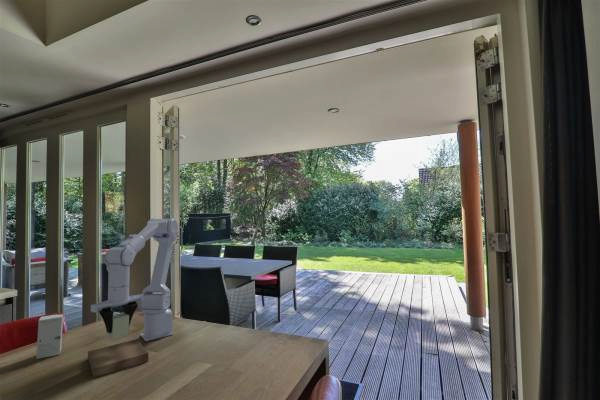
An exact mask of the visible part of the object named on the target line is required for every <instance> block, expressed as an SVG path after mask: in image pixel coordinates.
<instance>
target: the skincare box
mask: <svg viewBox="0 0 600 400" xmlns="http://www.w3.org/2000/svg"><path fill="white" fill-rule="evenodd" d="M63 323H64V314H63V313H60V314H51V315H44V316H43V315H42V316H40V318H39V320H38V323H37V324H38V327H37V341H36V343H37V344H36V357H35V358H36V360H39V359H43V358H49V357H54V356H58V355H61V351H62V344H63V326H64V324H63Z"/></svg>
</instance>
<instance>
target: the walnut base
mask: <svg viewBox="0 0 600 400" xmlns="http://www.w3.org/2000/svg"><path fill="white" fill-rule="evenodd" d="M87 362H88V364H89V367H90V371H91V375H92V378H97V377H101V376H103V375H104V376H105V375H107V374H110V373H113V372H117V371H120V370H124V369H127V368H130V367H134V366H136V365H140V364H143V363H147V362H149V352H148V350H147V349H146V348H145V346H144V345H143V344H142V342H141V341H140V340H139V339H138V338H136V339H133V340H128V341H124V342H121V343H117V344H111V345H108V346H105V347H101V348H97V349H93V350H89V351H87Z"/></svg>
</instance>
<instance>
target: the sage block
mask: <svg viewBox="0 0 600 400" xmlns="http://www.w3.org/2000/svg"><path fill="white" fill-rule="evenodd" d="M128 335H130V327H129V315H128V314H125V313H124V312H120V313H115V314H113V318H112V333H108V332H107V331H106V337H108V338H110V339H112V340H115V339H118V338H119V339H120V338H122V337H125V336H128Z"/></svg>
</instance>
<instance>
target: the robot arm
mask: <svg viewBox="0 0 600 400" xmlns="http://www.w3.org/2000/svg"><path fill="white" fill-rule="evenodd" d="M146 222H147V223H146V226H145V227H143V229H142V230H141V231H140V232H139V233H138V234H130V235H128V238H126V239H125V240H123V242H120V243H119V244H118V245H117V246H115V247H114V246H113V247H111V248H109V249H108V250H106V252H105V254H104V257H103V261H104V263H105V265H106V271H107V273H108V277H107V279H108V281H107V282H108V283H107V285H108V286H107V287H108V288H107V300H104V301H100V302H97V303H94V304H90V312H91V313H97V312H98V313H99V315H100V316H101V318H102V320H103V323H104V326H105V330H106V333H107V332H108V333H112V318H113V315H114V313H115V312H114V311H113V310H112V309H113V308H117V307H121V306H122V307H123V313H125V314H128V315H129V328H130V327H131V326H130V325H131V322H132V319H133V316H134V313H135V312H136V310H137V309H138V308H139V310H140V311H141V313H142V314H143V332H142V333H140V336H141V338H142V339H143V340H144V341H145V342H148V341H153V340H156V339H161V338H164V337H168V336H171V335H174V333H173V312H172V309H171V308H169V307H170V305H171V302H172V301H171V292H172V290H171V289H170V288H169V287H168V286H167V285H166V282H167V277H168V273H169V272H168V271H169V266H170V261H171V256H172V252H173V247H174V242H175V241H177V237H178V236H177V235H178V231H179V225H178V222H177V220H176V219H175V218H174V217H173V218H150V219H149V220H148V221H146ZM151 238H153V240H154V241H155V242H157V243H158V247H157V252H156V256H155V261H154V264H153V265H154V266H153V270H152V275H151V279H150V284H148V285H147V286H146V287H144V288H143V289H142V293H141V294H140V293H139V294H134V295H133V294H132V295H130V274H131V273H130V266H131V265H132V264H133V262H134V260H135V257H136V256H137V254H138V253H139V252H140V251H141V250H142V249H144V247H146V242H147V241H148V240H150V239H151Z"/></svg>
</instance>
